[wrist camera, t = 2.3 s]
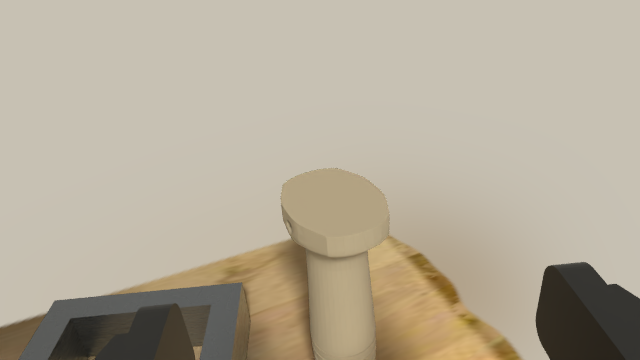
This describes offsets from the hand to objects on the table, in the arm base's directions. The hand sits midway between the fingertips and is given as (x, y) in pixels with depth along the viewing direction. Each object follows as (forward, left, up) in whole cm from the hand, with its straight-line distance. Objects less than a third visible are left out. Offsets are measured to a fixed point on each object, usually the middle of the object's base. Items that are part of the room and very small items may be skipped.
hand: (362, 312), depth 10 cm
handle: (0, +12, -20) cm, 23 cm away
